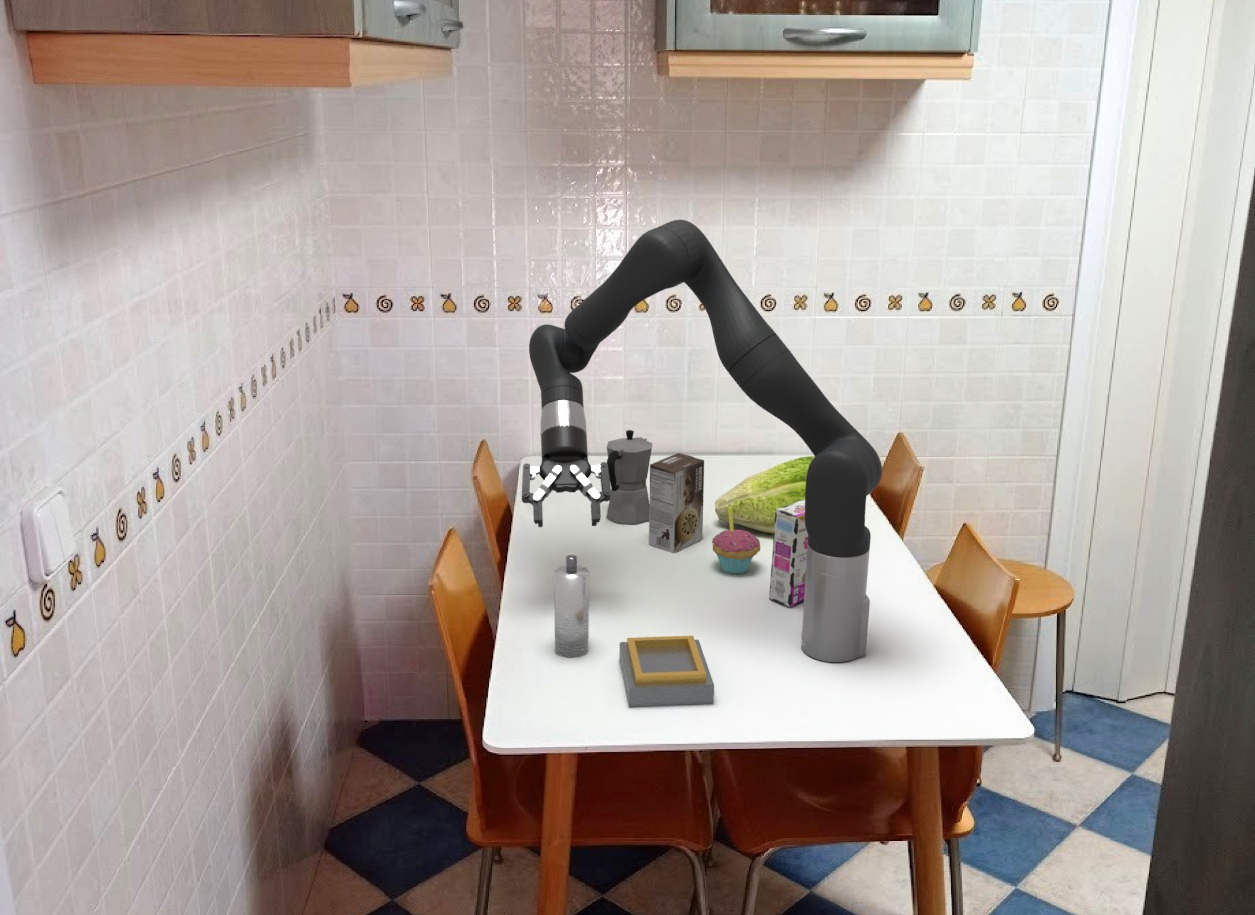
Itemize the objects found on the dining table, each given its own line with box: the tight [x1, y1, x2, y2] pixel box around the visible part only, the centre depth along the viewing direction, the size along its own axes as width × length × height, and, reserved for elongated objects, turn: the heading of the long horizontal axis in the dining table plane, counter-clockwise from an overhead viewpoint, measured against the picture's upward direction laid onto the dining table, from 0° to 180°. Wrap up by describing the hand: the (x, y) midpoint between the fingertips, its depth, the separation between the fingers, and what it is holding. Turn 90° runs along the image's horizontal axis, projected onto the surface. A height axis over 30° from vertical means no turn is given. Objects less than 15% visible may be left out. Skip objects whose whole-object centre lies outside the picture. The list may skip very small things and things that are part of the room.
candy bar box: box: [768, 499, 808, 608], centre depth 203 cm, size 11×5×16 cm, turn 135°
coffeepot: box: [606, 429, 653, 526], centre depth 236 cm, size 15×9×18 cm, turn 153°
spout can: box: [553, 554, 590, 659], centre depth 183 cm, size 5×5×15 cm
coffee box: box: [648, 452, 705, 554], centre depth 224 cm, size 9×6×16 cm
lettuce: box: [714, 455, 815, 535], centre depth 233 cm, size 15×24×16 cm
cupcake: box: [711, 503, 761, 575], centre depth 214 cm, size 9×8×12 cm
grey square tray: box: [618, 635, 715, 708], centre depth 175 cm, size 12×14×4 cm
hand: (567, 524), depth 191 cm, fingers open, 8 cm apart
